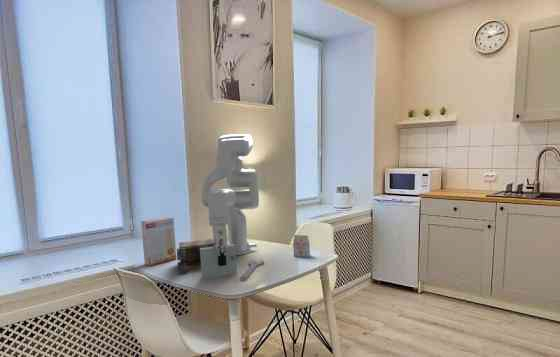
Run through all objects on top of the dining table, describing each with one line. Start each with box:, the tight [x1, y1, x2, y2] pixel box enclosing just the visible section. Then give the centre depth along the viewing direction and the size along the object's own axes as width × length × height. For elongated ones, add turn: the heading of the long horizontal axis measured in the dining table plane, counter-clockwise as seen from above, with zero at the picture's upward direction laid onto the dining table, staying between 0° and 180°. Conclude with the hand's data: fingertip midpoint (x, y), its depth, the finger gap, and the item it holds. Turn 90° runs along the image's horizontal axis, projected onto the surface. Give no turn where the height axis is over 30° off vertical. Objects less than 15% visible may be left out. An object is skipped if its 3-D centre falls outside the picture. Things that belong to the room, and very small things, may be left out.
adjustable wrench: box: [239, 258, 265, 282], centre depth 145 cm, size 25×6×2 cm, turn 165°
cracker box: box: [140, 216, 177, 267], centre depth 164 cm, size 14×6×21 cm, turn 135°
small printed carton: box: [293, 234, 311, 258], centre depth 164 cm, size 4×7×10 cm, turn 63°
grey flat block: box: [200, 244, 238, 280], centre depth 140 cm, size 14×4×12 cm, turn 107°
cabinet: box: [176, 238, 214, 275], centre depth 154 cm, size 16×16×10 cm
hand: (220, 262), depth 140 cm, fingers open, 9 cm apart
